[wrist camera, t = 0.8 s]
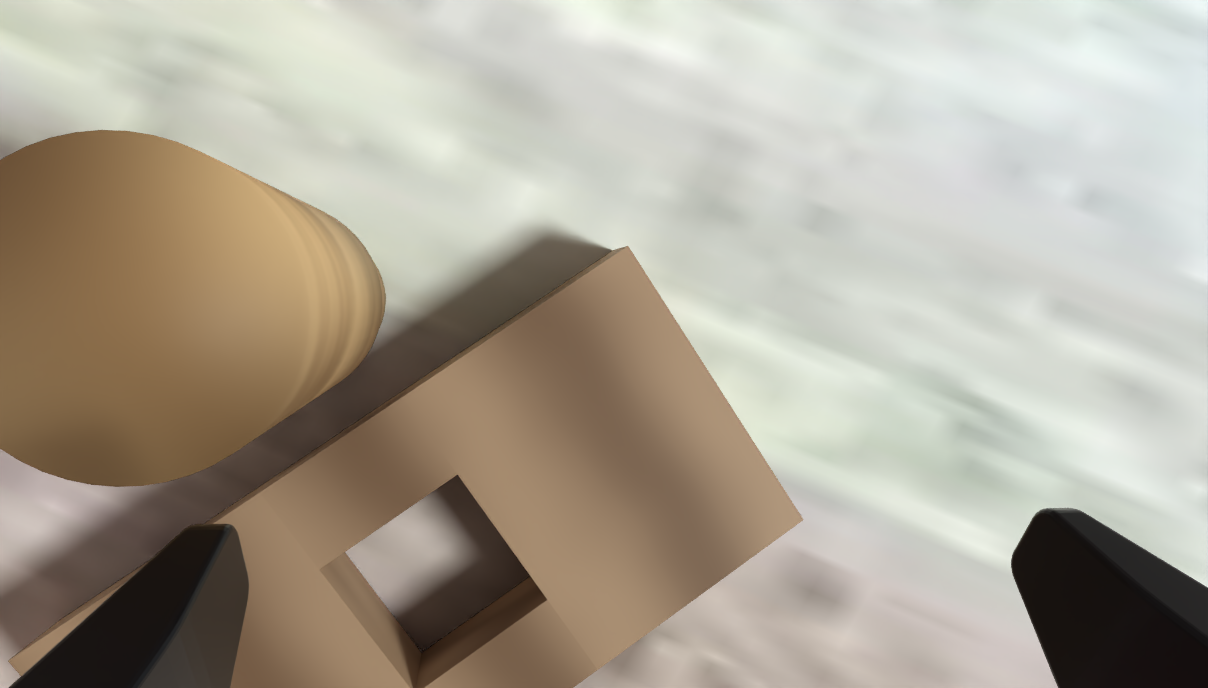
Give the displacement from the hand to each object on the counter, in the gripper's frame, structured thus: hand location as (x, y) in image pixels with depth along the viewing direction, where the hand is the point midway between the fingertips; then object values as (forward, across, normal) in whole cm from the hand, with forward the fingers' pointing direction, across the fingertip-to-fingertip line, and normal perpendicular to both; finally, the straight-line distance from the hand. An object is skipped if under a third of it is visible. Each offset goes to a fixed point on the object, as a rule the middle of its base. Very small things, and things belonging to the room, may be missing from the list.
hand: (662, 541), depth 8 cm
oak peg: (+15, +7, +6) cm, 18 cm away
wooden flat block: (+11, +3, +13) cm, 17 cm away
